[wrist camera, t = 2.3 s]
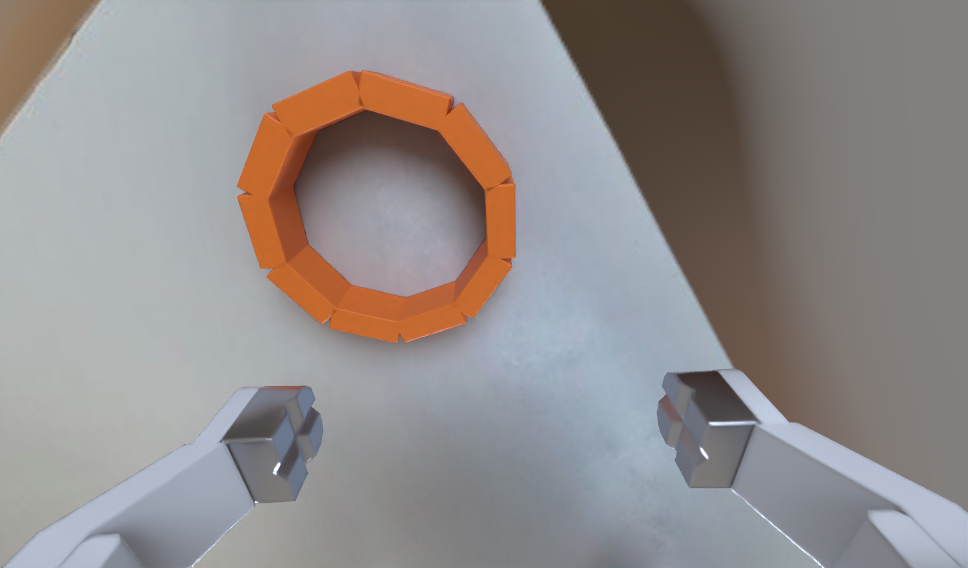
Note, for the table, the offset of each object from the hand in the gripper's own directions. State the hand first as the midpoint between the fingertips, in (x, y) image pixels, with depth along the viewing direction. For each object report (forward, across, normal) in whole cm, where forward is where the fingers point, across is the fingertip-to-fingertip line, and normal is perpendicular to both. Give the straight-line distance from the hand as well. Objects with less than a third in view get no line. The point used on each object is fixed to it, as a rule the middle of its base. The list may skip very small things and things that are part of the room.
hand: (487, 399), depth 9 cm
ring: (+14, +5, -1) cm, 15 cm away
